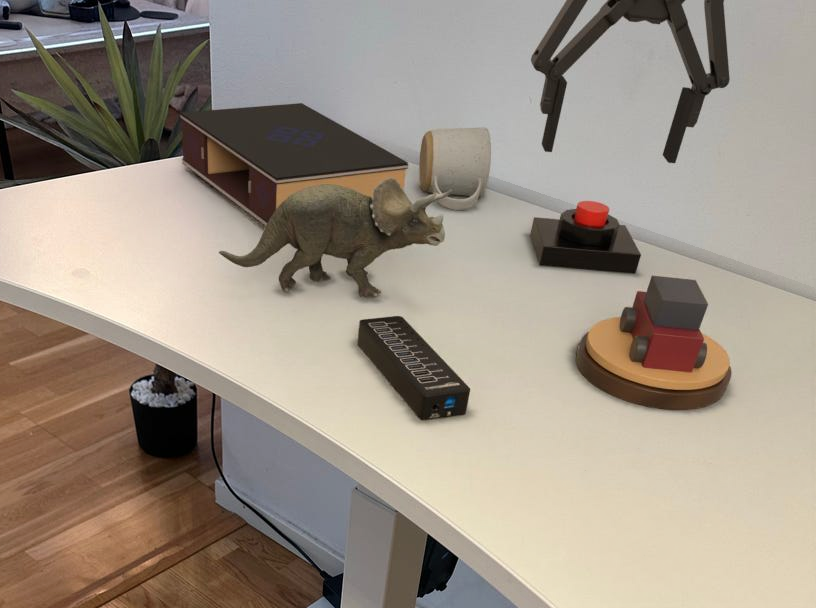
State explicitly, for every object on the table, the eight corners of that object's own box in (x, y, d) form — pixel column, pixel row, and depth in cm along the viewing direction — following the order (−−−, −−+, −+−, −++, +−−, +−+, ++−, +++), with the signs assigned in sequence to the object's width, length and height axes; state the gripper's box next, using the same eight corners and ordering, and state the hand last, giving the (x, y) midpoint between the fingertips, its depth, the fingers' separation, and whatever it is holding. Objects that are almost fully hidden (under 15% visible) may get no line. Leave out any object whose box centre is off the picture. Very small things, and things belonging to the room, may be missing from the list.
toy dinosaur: (217, 295, 91) (215, 174, 83) (225, 261, 97) (224, 146, 89) (436, 311, 92) (454, 194, 84) (430, 277, 98) (447, 165, 90)
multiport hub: (398, 337, 87) (401, 314, 85) (467, 414, 77) (472, 389, 76) (355, 342, 85) (357, 319, 84) (421, 421, 76) (425, 396, 74)
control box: (620, 244, 109) (630, 209, 106) (635, 274, 103) (646, 238, 100) (529, 236, 109) (537, 200, 106) (539, 265, 102) (547, 229, 100)
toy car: (742, 397, 80) (771, 327, 75) (595, 381, 80) (616, 311, 75) (709, 331, 89) (734, 266, 85) (577, 317, 89) (595, 251, 85)
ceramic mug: (414, 180, 120) (422, 116, 115) (474, 183, 121) (485, 120, 115) (426, 211, 113) (435, 143, 107) (490, 214, 113) (503, 147, 108)
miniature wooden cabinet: (274, 241, 102) (276, 177, 97) (181, 170, 116) (179, 112, 112) (401, 222, 109) (408, 162, 104) (299, 157, 124) (301, 102, 119)
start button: (602, 218, 105) (606, 202, 103) (607, 229, 102) (612, 213, 101) (571, 215, 104) (575, 199, 103) (576, 226, 102) (580, 210, 101)
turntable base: (703, 343, 91) (709, 329, 90) (744, 415, 81) (751, 400, 80) (565, 331, 90) (569, 317, 89) (589, 402, 80) (593, 387, 79)
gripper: (792, -92, 86) (711, 153, 101) (534, -117, 85) (490, 133, 100) (820, -82, 81) (730, 175, 96) (545, -109, 80) (497, 154, 95)
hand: (607, 154), depth 98 cm, fingers open, 13 cm apart
